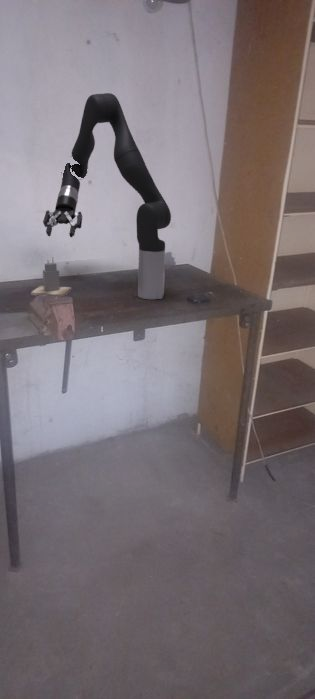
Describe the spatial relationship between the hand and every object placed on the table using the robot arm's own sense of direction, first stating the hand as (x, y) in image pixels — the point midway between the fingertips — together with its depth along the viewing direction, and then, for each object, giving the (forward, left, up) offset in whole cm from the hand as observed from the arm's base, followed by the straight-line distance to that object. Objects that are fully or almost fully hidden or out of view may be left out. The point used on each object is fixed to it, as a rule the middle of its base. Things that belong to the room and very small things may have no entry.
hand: (59, 235), depth 194 cm
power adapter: (0, +11, -18) cm, 21 cm away
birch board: (0, +12, -19) cm, 22 cm away
